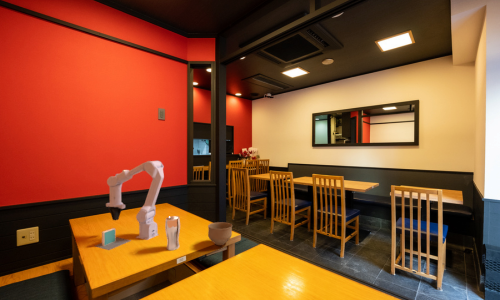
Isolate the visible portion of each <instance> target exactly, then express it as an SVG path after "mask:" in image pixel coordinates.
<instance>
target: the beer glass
mask: <svg viewBox="0 0 500 300" xmlns="http://www.w3.org/2000/svg"><path fill="white" fill-rule="evenodd" d="M164 226H165V234H166V235H165V236H166V239H167V240H166V241H167V244H166V250H168V251H174V250H175V251H176V250H178V249H179V248H180V241H179V238H180V233H181V232H180V230H181V221H180V216H179V215H172V216H168V217H165V225H164Z"/></svg>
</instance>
